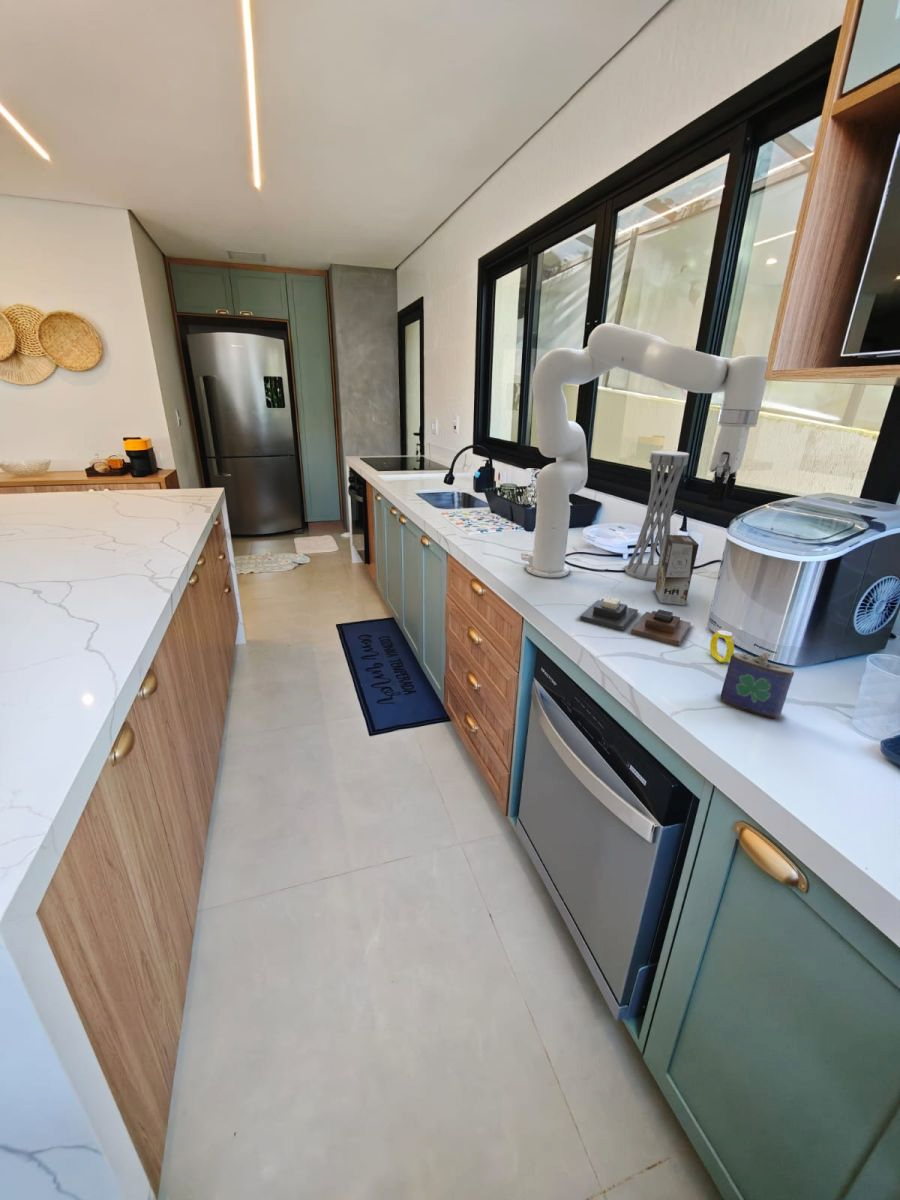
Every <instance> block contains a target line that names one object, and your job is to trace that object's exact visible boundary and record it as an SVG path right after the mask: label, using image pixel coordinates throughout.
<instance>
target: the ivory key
mask: <svg viewBox="0 0 900 1200" xmlns="http://www.w3.org/2000/svg"><path fill="white" fill-rule="evenodd" d="M604 599H605V600H603V603H602V607H605V608H610V609H614V610H616V609H617V608H618V607H619V605H620V603H621V600H620V599H617V598H613V597H609V596H607V597H606V598H604Z"/></svg>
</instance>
